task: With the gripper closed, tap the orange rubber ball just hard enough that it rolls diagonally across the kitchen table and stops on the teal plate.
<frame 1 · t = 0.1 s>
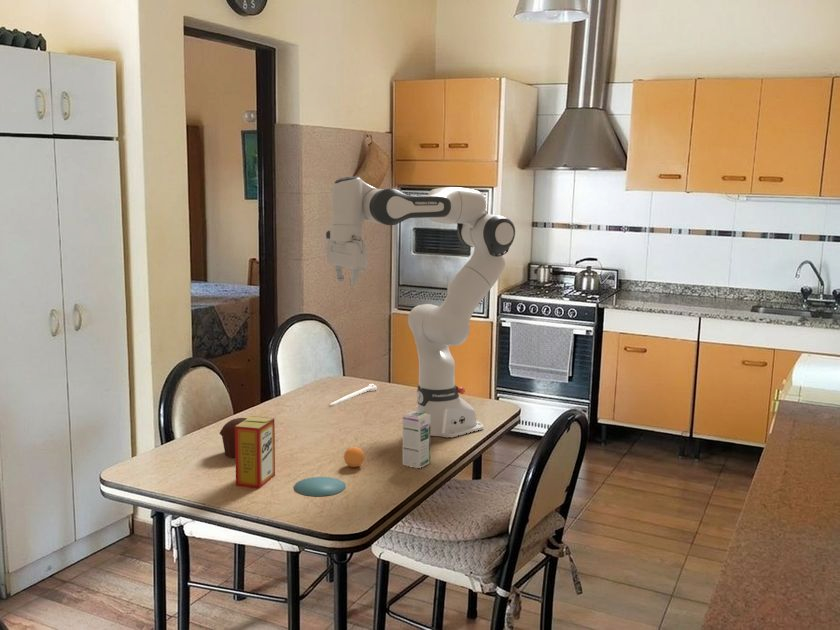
hand: (346, 282, 236), 48 cm above the table, tool pointing down, fingers open, 8 cm apart
muffin: (241, 454, 233), on the table
ball: (354, 456, 224), on the table
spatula: (354, 399, 295), on the table
syrup box: (416, 465, 227), on the table
teal plate: (319, 486, 209), on the table
baking soda box: (255, 481, 213), on the table
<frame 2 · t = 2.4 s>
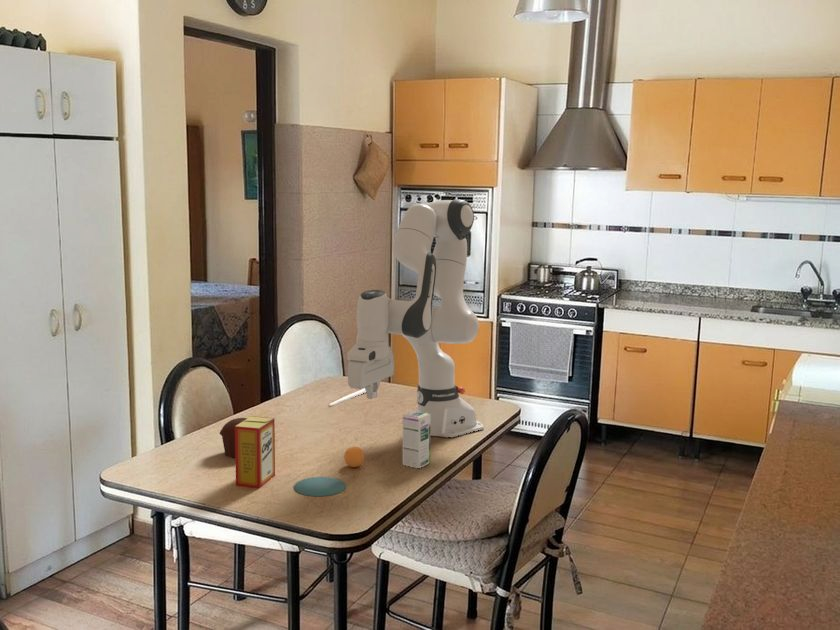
hand: (371, 397, 230), 17 cm above the table, tool pointing down, fingers closed
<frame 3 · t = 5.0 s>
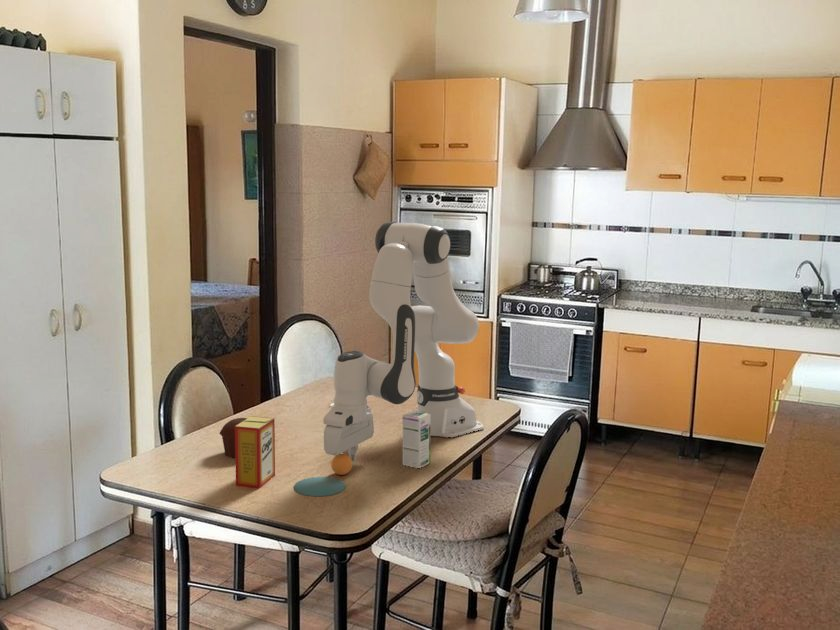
hand: (349, 461, 222), 2 cm above the table, tool pointing down, fingers closed
ball: (341, 464, 218), on the table
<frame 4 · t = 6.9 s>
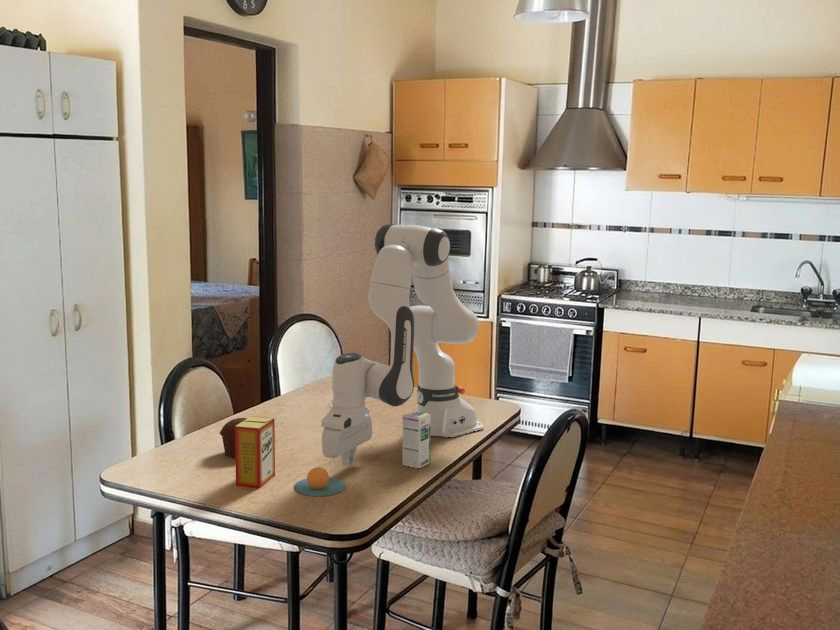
hand: (348, 464, 221), 2 cm above the table, tool pointing down, fingers closed
ball: (318, 478, 207), on the table
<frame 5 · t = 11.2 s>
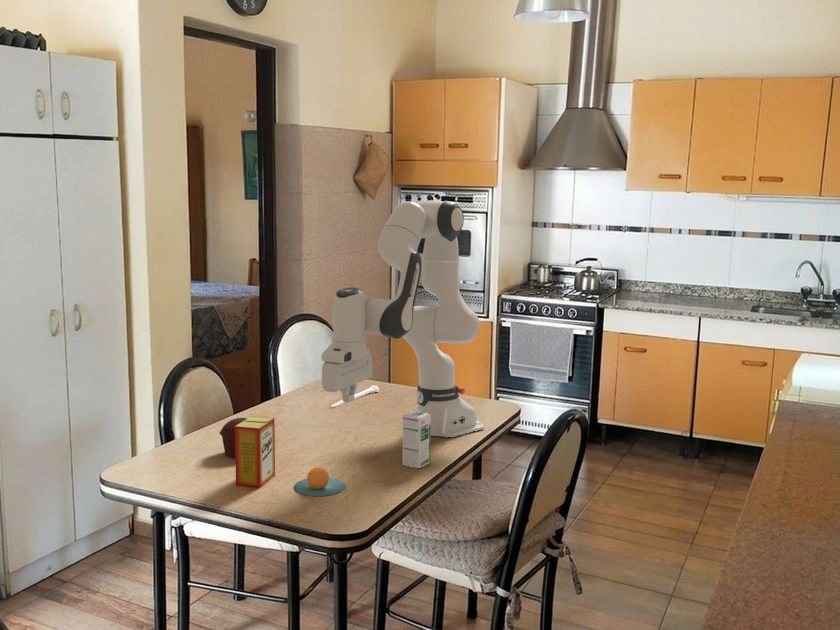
hand: (348, 401, 218), 19 cm above the table, tool pointing down, fingers closed
at the end: ball 1.4 cm from the teal plate (horizontally); ball at rest at the end (0.0 cm/s); ball moved 18.3 cm from its start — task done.
